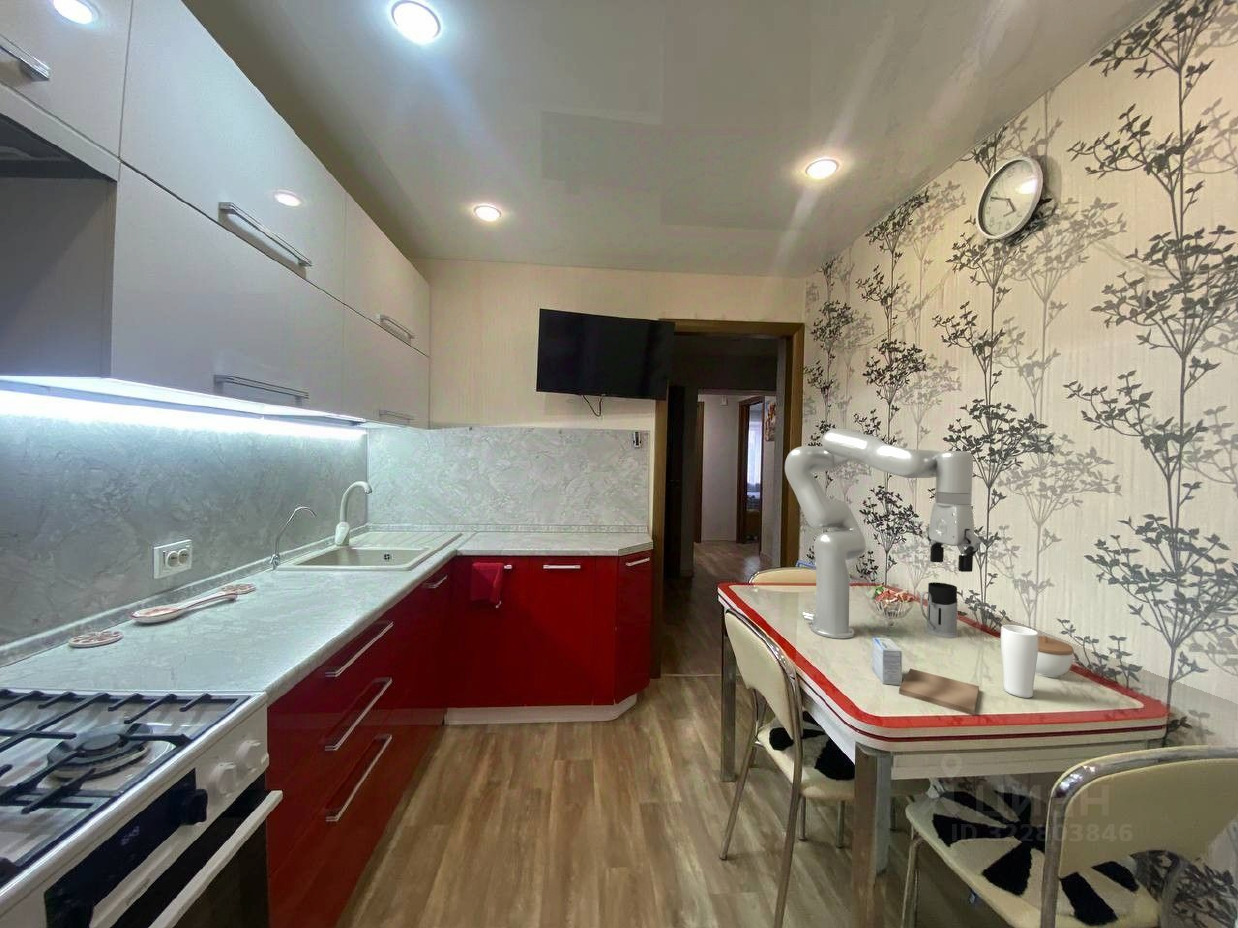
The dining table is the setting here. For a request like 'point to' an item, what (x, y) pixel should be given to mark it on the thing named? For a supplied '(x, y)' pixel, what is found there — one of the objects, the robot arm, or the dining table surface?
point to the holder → (941, 610)
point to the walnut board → (940, 691)
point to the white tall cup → (1019, 659)
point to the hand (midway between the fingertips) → (950, 566)
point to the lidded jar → (1053, 657)
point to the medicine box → (887, 661)
